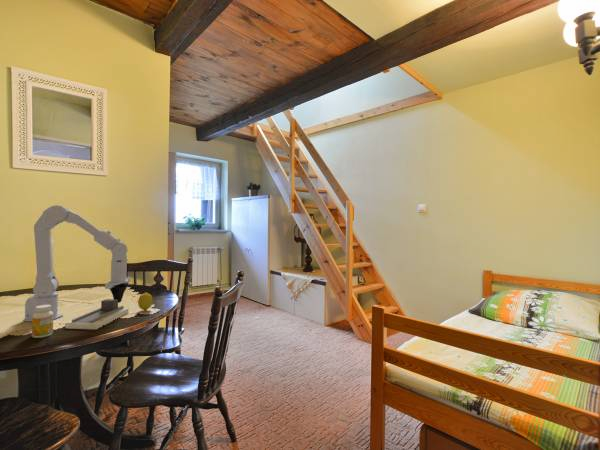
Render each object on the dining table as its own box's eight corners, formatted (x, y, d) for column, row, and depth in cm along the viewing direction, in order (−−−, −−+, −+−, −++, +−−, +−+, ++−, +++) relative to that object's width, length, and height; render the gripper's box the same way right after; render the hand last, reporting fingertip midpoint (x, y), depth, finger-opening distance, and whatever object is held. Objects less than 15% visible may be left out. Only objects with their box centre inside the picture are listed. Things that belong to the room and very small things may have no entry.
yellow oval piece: (146, 313, 129) (146, 294, 129) (134, 311, 130) (135, 293, 130) (154, 309, 135) (155, 291, 135) (144, 308, 136) (144, 290, 136)
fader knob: (101, 310, 123) (101, 300, 123) (105, 308, 126) (106, 298, 126) (113, 311, 123) (113, 301, 123) (117, 309, 126) (118, 299, 126)
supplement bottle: (30, 335, 102) (30, 306, 102) (50, 331, 106) (51, 303, 106) (33, 339, 98) (34, 309, 98) (54, 335, 102) (55, 306, 102)
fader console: (65, 328, 109) (65, 319, 109) (102, 311, 129) (102, 304, 129) (95, 329, 109) (96, 321, 109) (128, 312, 129) (128, 305, 129)
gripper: (117, 273, 123) (116, 307, 123) (137, 268, 137) (136, 298, 137) (100, 272, 123) (99, 306, 123) (121, 267, 137) (121, 297, 137)
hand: (117, 302), depth 130 cm, fingers closed
